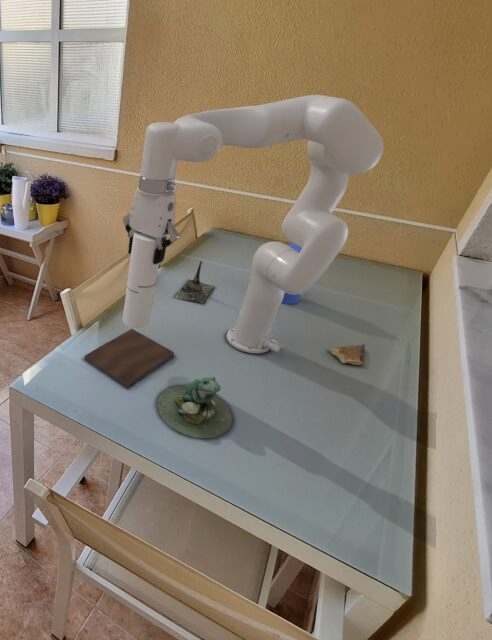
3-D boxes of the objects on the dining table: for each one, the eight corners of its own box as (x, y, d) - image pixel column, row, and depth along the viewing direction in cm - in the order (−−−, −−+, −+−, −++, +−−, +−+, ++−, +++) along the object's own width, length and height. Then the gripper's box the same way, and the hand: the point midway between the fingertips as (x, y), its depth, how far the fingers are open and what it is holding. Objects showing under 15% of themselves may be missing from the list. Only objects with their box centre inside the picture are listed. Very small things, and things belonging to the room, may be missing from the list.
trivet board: (173, 356, 123) (174, 352, 122) (126, 388, 112) (127, 384, 111) (131, 332, 132) (131, 328, 132) (84, 359, 121) (84, 355, 121)
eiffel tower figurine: (203, 305, 146) (212, 270, 138) (174, 297, 150) (181, 263, 142) (214, 287, 156) (223, 254, 148) (187, 280, 160) (194, 247, 152)
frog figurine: (188, 448, 95) (199, 412, 88) (143, 397, 109) (150, 363, 102) (247, 424, 101) (262, 389, 94) (197, 379, 114) (207, 345, 107)
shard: (362, 348, 125) (364, 343, 124) (381, 364, 119) (384, 359, 118) (328, 351, 124) (331, 346, 123) (346, 367, 118) (349, 362, 117)
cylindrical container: (148, 329, 112) (164, 241, 97) (121, 326, 113) (133, 239, 98) (148, 315, 117) (163, 230, 103) (123, 312, 119) (134, 228, 104)
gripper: (199, 190, 90) (183, 264, 101) (136, 173, 101) (128, 242, 111) (178, 197, 86) (164, 274, 97) (115, 179, 97) (109, 250, 107)
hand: (145, 256), depth 104 cm, fingers closed on cylindrical container, 7 cm apart
